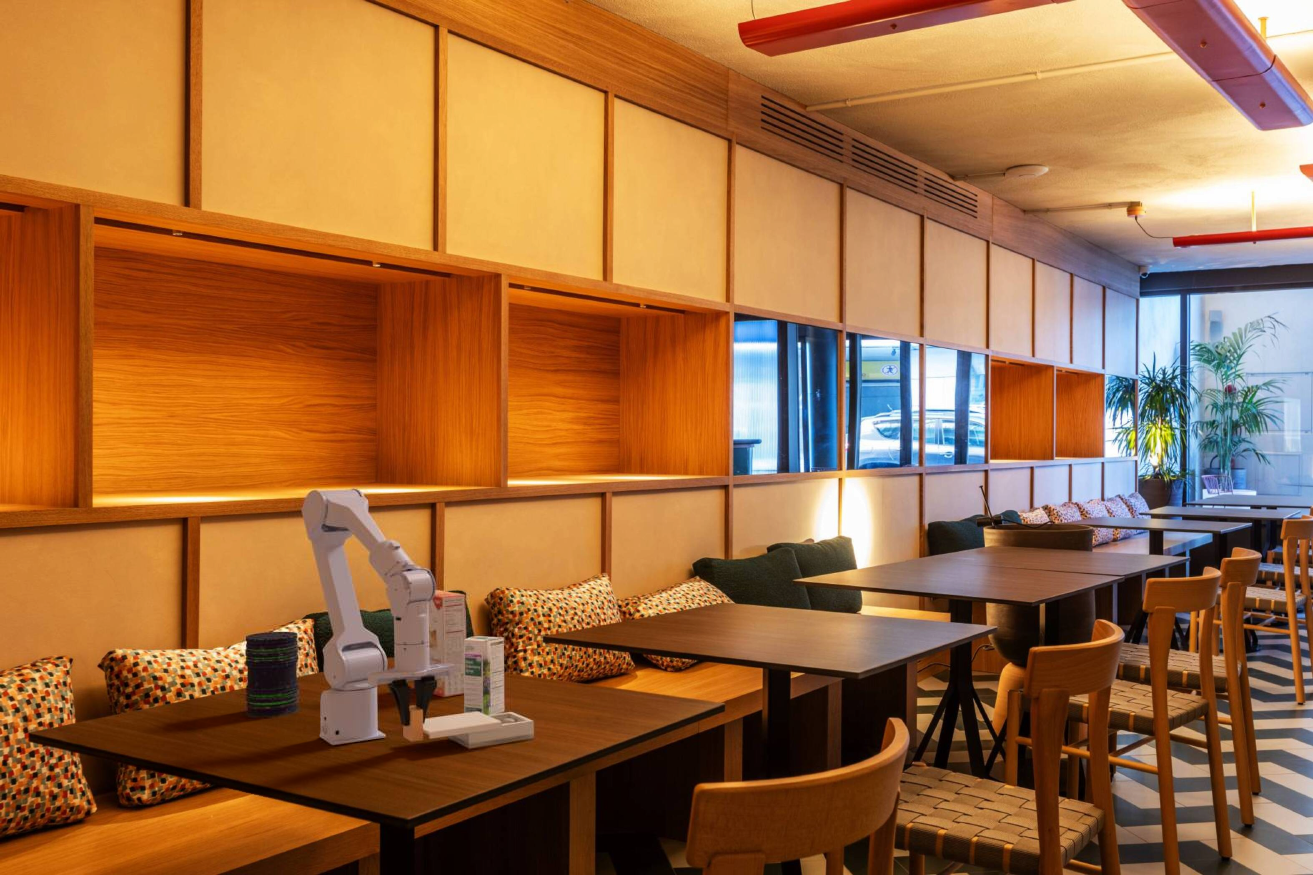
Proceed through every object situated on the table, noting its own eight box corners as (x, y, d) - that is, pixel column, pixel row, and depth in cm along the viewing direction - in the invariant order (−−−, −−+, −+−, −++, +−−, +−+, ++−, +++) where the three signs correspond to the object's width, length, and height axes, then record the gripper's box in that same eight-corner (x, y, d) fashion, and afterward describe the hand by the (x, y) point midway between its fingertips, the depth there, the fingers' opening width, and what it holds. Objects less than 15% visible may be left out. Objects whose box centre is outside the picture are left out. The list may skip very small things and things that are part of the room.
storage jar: (235, 716, 220) (234, 638, 220) (264, 705, 229) (263, 631, 230) (281, 718, 217) (280, 639, 218) (308, 707, 227) (308, 631, 227)
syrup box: (463, 715, 217) (461, 638, 217) (481, 709, 222) (480, 634, 222) (487, 718, 214) (486, 640, 214) (505, 711, 219) (504, 636, 220)
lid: (418, 745, 186) (417, 714, 186) (397, 733, 194) (396, 703, 195) (501, 732, 194) (501, 702, 194) (477, 721, 202) (477, 693, 202)
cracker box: (410, 688, 244) (409, 590, 244) (436, 684, 248) (435, 588, 248) (442, 698, 233) (440, 595, 234) (468, 694, 237) (466, 593, 237)
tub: (469, 748, 191) (468, 730, 191) (448, 738, 199) (448, 720, 199) (533, 738, 197) (533, 720, 198) (511, 728, 205) (511, 711, 205)
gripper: (377, 649, 184) (378, 734, 183) (461, 640, 191) (462, 722, 191) (363, 644, 190) (364, 726, 189) (445, 635, 197) (447, 714, 197)
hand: (412, 723), depth 191 cm, fingers closed on lid, 2 cm apart
